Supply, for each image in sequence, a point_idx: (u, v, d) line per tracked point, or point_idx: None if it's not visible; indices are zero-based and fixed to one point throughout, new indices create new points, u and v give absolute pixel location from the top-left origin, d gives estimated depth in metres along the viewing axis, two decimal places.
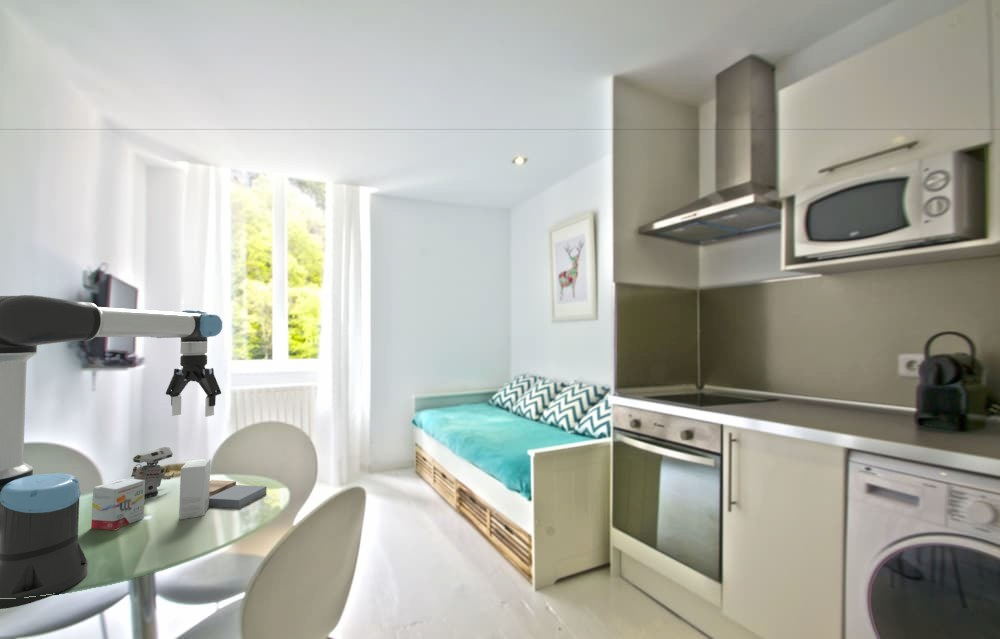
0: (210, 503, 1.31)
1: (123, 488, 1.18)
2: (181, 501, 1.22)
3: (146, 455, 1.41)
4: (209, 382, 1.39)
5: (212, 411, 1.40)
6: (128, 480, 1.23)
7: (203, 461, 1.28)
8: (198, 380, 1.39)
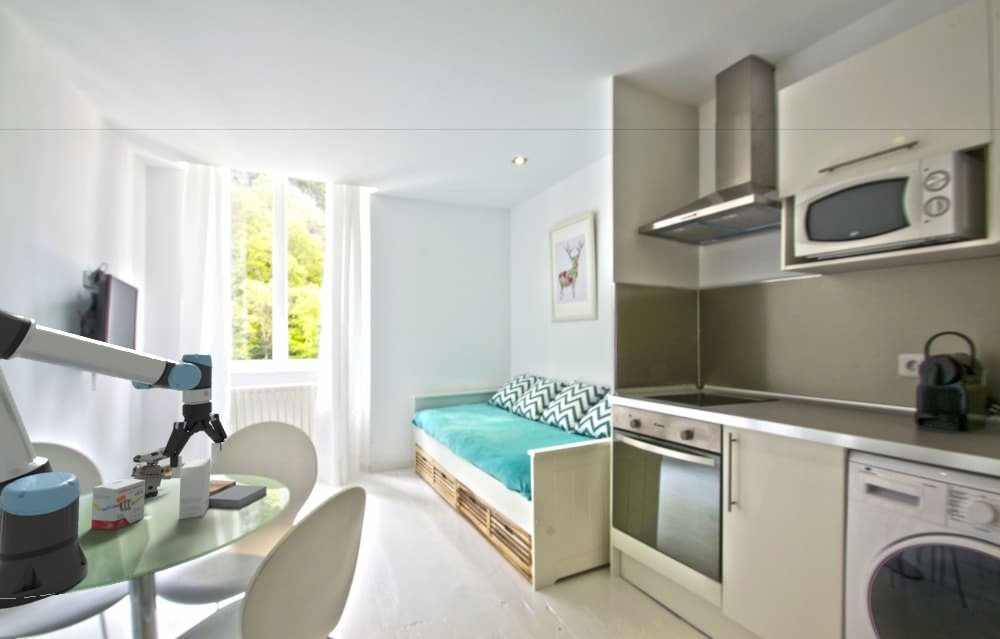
0: (210, 503, 1.31)
1: (123, 488, 1.18)
2: (181, 501, 1.22)
3: (146, 455, 1.41)
4: None
5: (177, 473, 1.20)
6: (128, 480, 1.23)
7: (203, 461, 1.28)
8: None
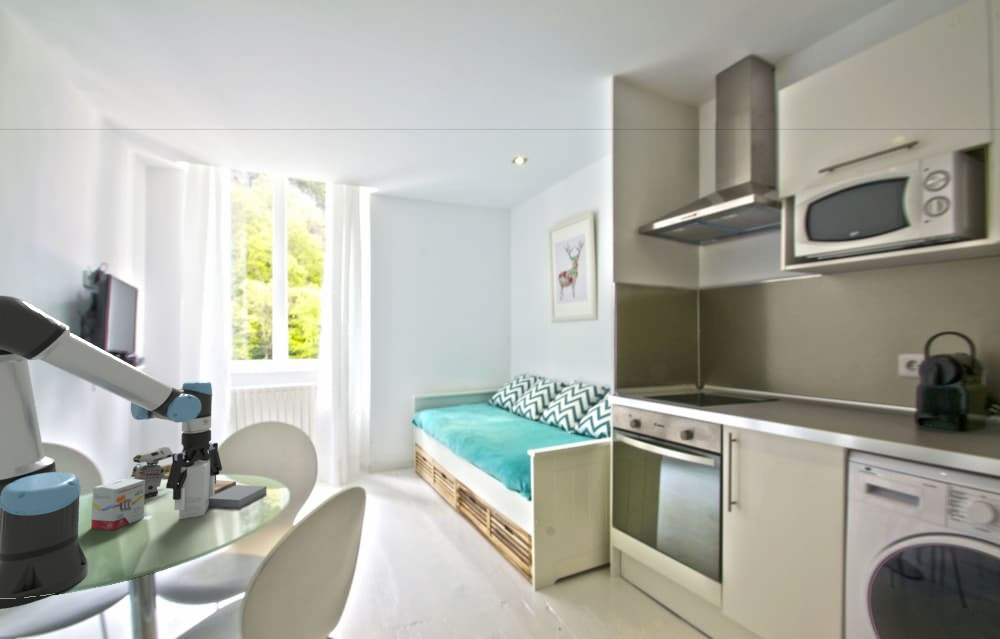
0: (210, 503, 1.31)
1: (123, 488, 1.18)
2: None
3: (146, 455, 1.41)
4: None
5: (180, 505, 1.21)
6: (128, 480, 1.23)
7: (203, 461, 1.28)
8: None
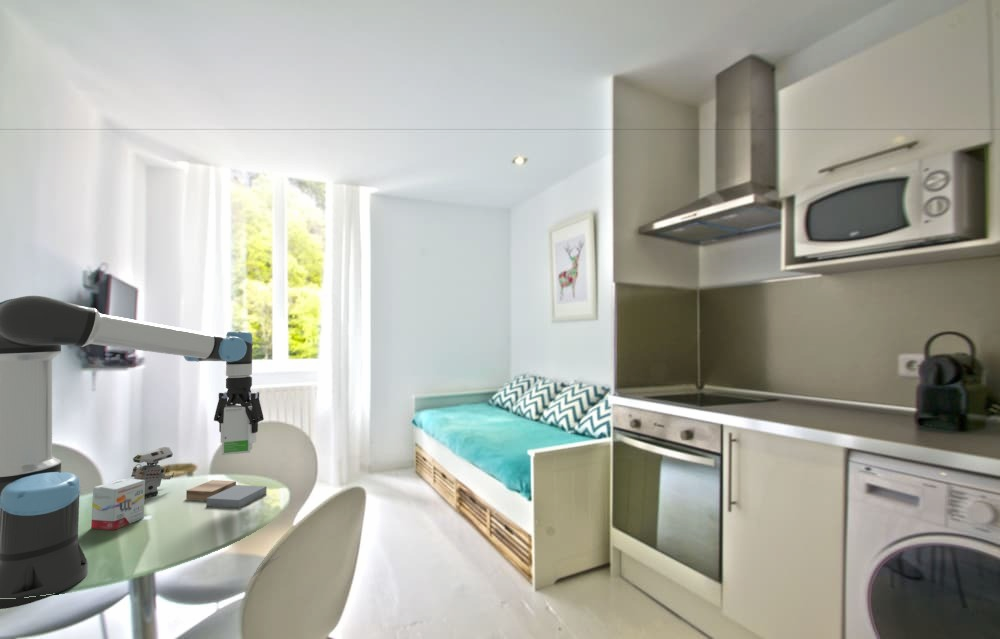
0: (210, 503, 1.31)
1: (123, 488, 1.18)
2: None
3: (146, 455, 1.41)
4: (253, 408, 1.35)
5: (254, 438, 1.37)
6: (128, 480, 1.23)
7: (237, 405, 1.39)
8: (243, 405, 1.36)
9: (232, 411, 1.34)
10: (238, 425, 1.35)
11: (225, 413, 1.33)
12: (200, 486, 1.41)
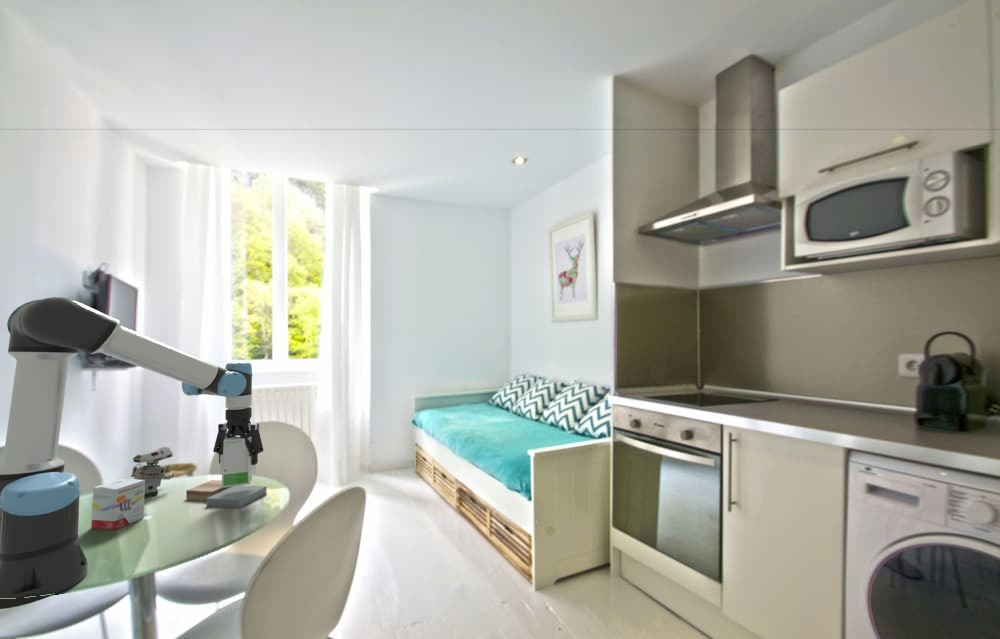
0: (210, 503, 1.31)
1: (122, 488, 1.18)
2: None
3: (146, 455, 1.41)
4: (253, 439, 1.35)
5: (254, 469, 1.36)
6: (128, 480, 1.23)
7: (237, 436, 1.39)
8: (243, 436, 1.35)
9: (232, 443, 1.34)
10: (237, 457, 1.34)
11: (225, 445, 1.33)
12: (200, 486, 1.41)
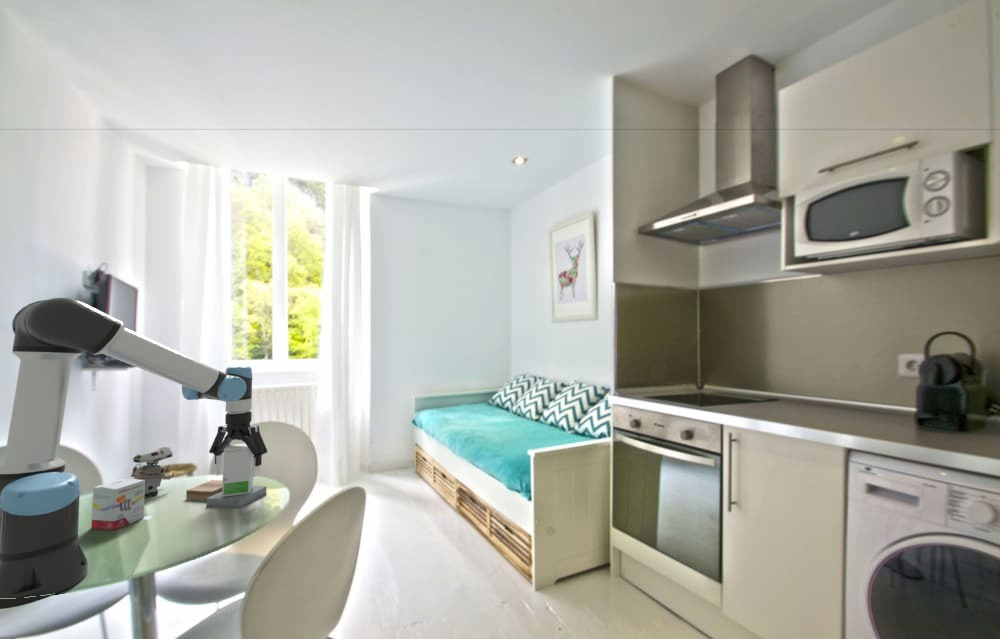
0: (210, 503, 1.31)
1: (123, 488, 1.18)
2: (250, 476, 1.36)
3: (146, 455, 1.41)
4: (255, 441, 1.35)
5: (258, 470, 1.36)
6: (128, 480, 1.23)
7: (237, 444, 1.38)
8: (244, 439, 1.35)
9: (232, 452, 1.33)
10: (238, 466, 1.34)
11: (225, 454, 1.33)
12: (200, 486, 1.41)
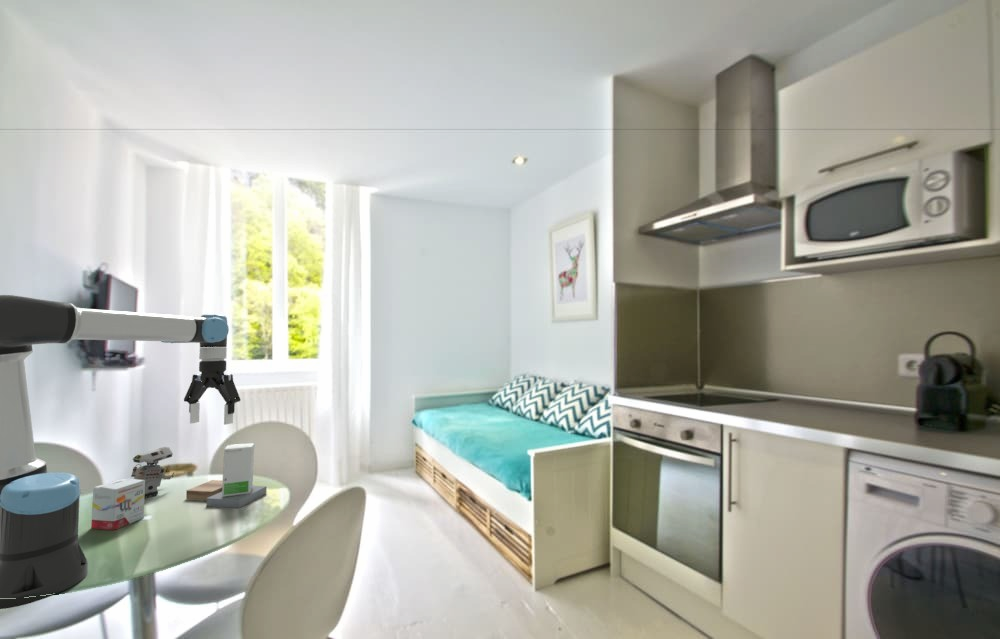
0: (210, 503, 1.31)
1: (123, 488, 1.18)
2: (250, 476, 1.36)
3: (146, 455, 1.41)
4: (228, 389, 1.34)
5: (231, 419, 1.35)
6: (128, 480, 1.23)
7: (237, 444, 1.38)
8: (217, 387, 1.34)
9: (232, 452, 1.33)
10: (238, 466, 1.34)
11: (225, 454, 1.33)
12: (200, 486, 1.41)
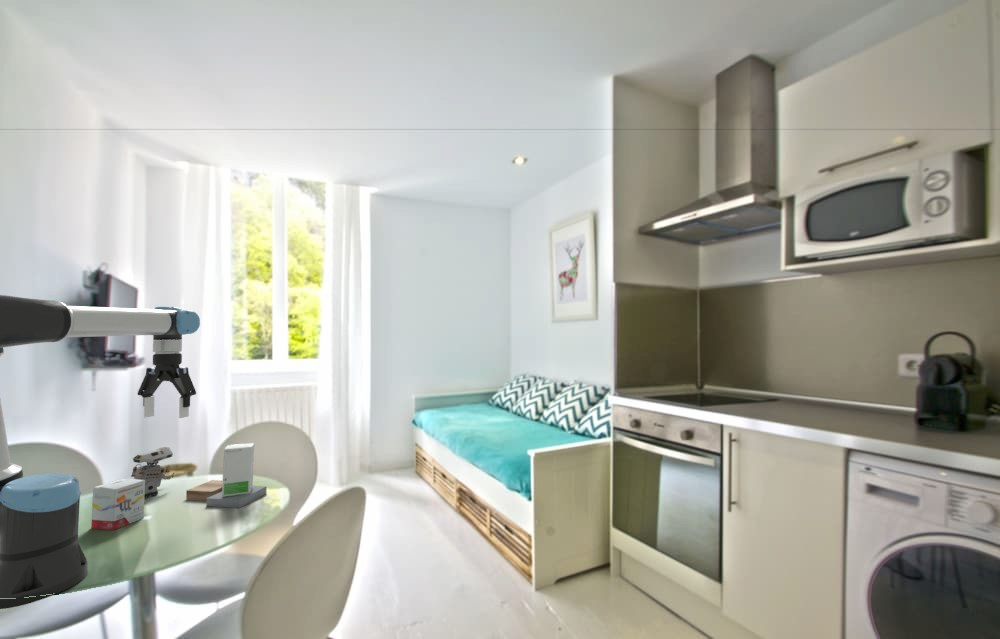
0: (210, 503, 1.31)
1: (122, 488, 1.18)
2: (250, 476, 1.36)
3: (146, 455, 1.41)
4: (183, 382, 1.32)
5: (186, 412, 1.34)
6: (128, 480, 1.23)
7: (237, 444, 1.38)
8: (172, 380, 1.32)
9: (232, 452, 1.33)
10: (238, 466, 1.34)
11: (225, 454, 1.33)
12: (200, 486, 1.41)
